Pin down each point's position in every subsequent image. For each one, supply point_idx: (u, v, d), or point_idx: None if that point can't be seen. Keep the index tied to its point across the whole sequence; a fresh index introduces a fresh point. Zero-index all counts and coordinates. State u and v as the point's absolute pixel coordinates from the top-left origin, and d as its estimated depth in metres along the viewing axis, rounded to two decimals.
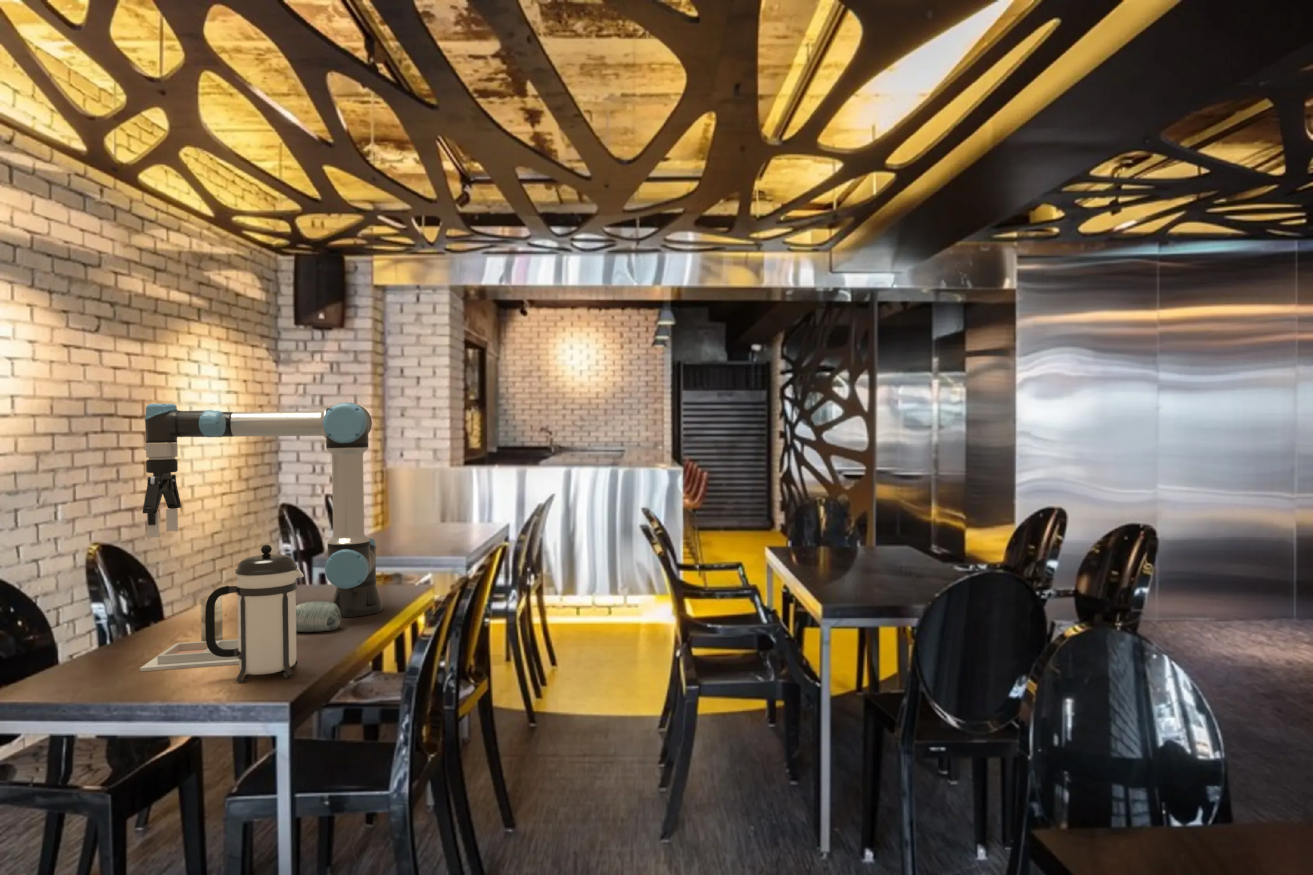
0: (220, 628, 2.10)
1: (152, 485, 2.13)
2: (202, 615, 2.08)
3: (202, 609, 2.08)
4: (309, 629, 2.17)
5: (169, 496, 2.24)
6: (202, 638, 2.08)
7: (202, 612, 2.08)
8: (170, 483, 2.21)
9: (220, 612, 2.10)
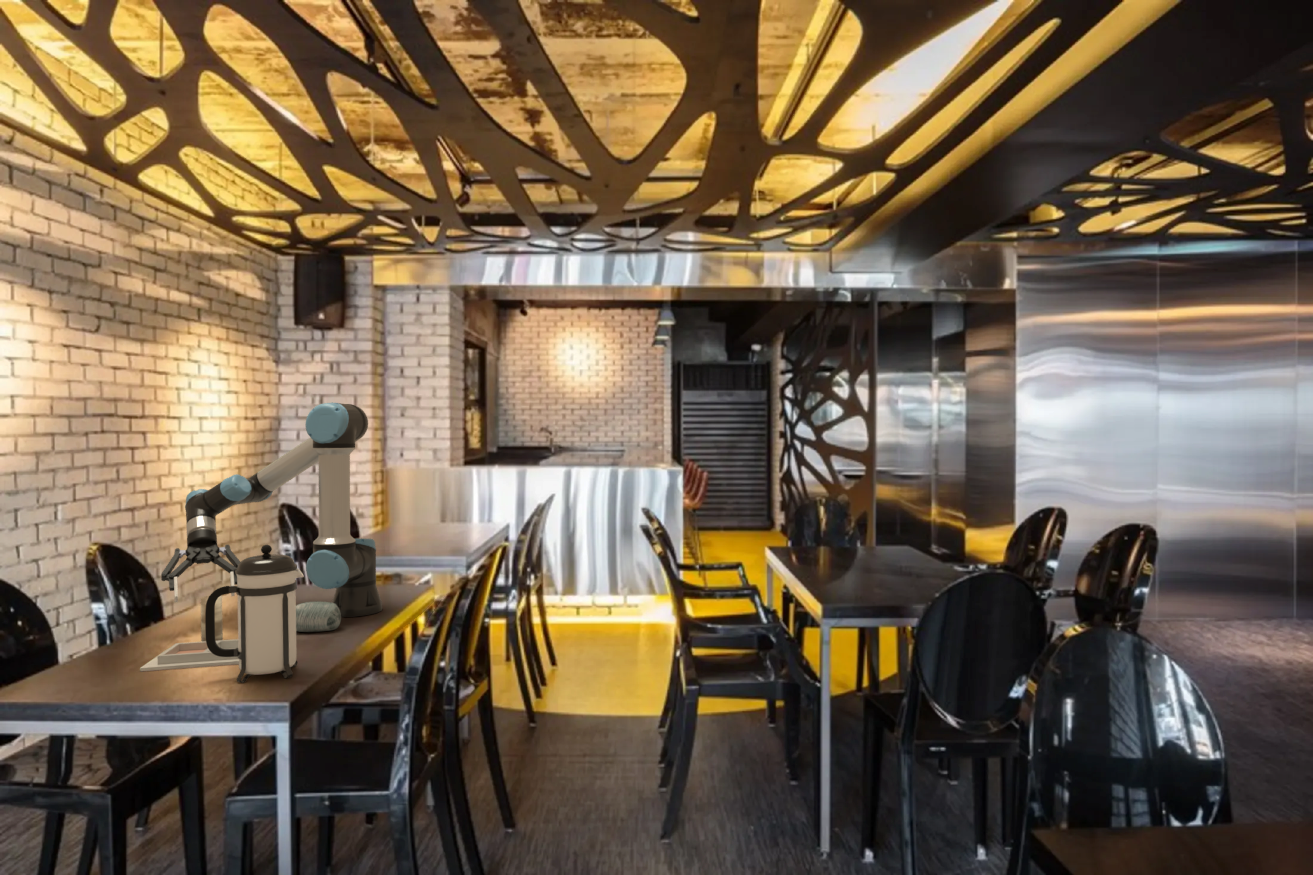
0: (220, 628, 2.10)
1: None
2: (202, 615, 2.08)
3: (202, 609, 2.08)
4: (309, 629, 2.17)
5: (221, 564, 2.23)
6: (202, 638, 2.08)
7: (202, 612, 2.08)
8: (207, 551, 2.23)
9: (220, 612, 2.10)
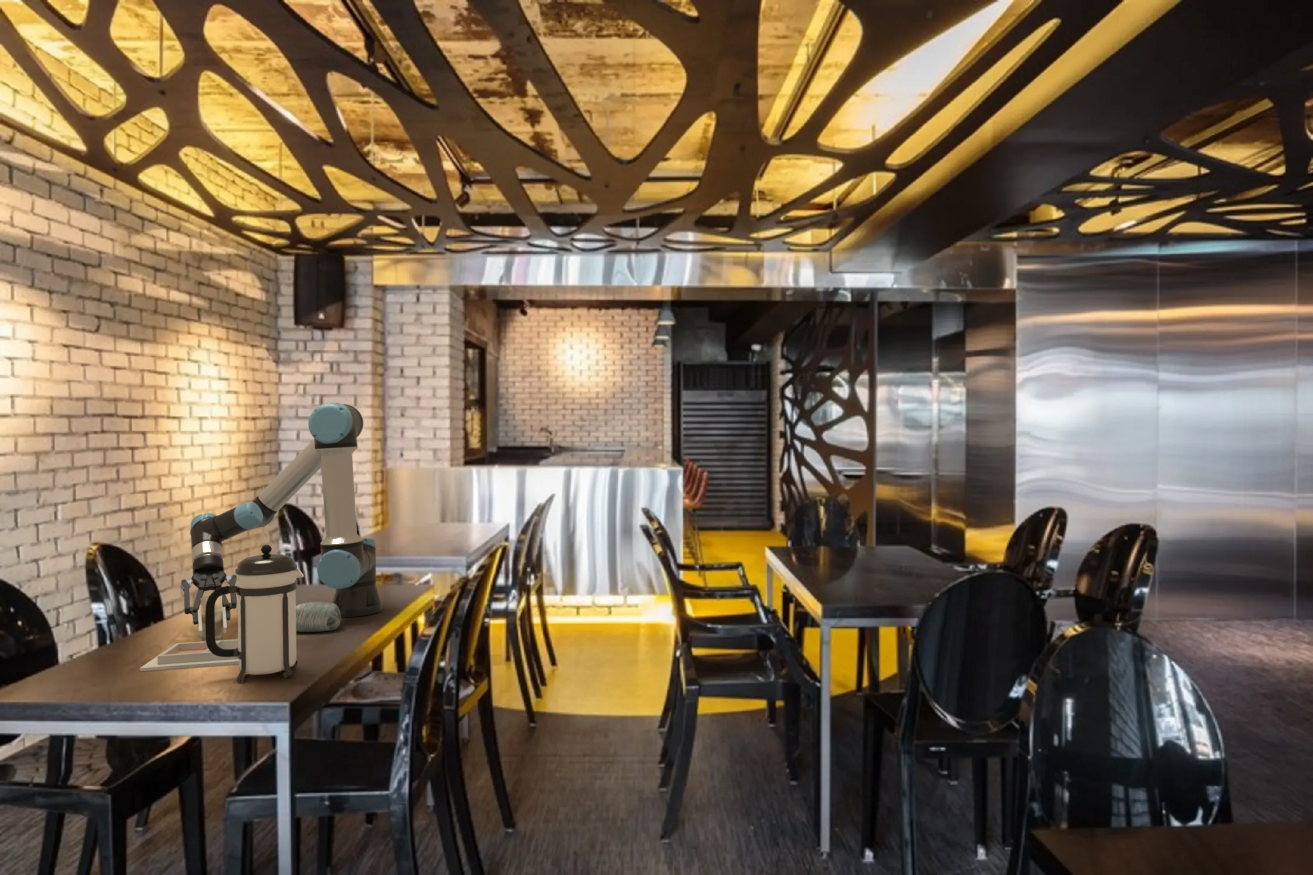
0: (220, 628, 2.10)
1: (184, 589, 2.12)
2: (202, 615, 2.08)
3: (202, 609, 2.08)
4: (309, 629, 2.17)
5: None
6: (202, 638, 2.08)
7: (202, 612, 2.08)
8: (212, 577, 2.16)
9: (220, 612, 2.10)
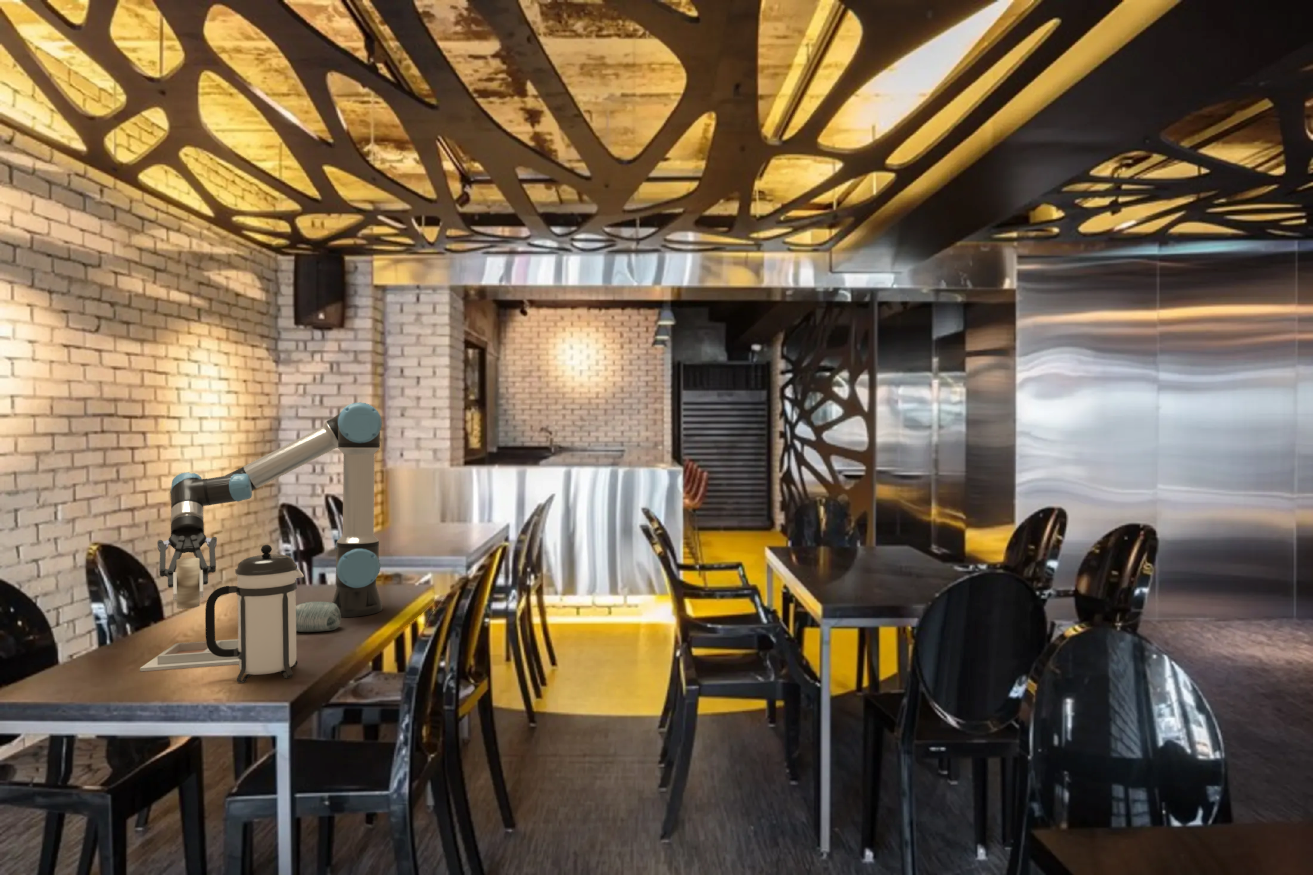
0: (197, 592, 1.97)
1: None
2: (177, 578, 1.96)
3: (178, 571, 1.96)
4: (309, 629, 2.17)
5: (197, 557, 2.02)
6: (177, 602, 1.96)
7: (178, 575, 1.96)
8: (191, 539, 2.04)
9: (197, 575, 1.97)
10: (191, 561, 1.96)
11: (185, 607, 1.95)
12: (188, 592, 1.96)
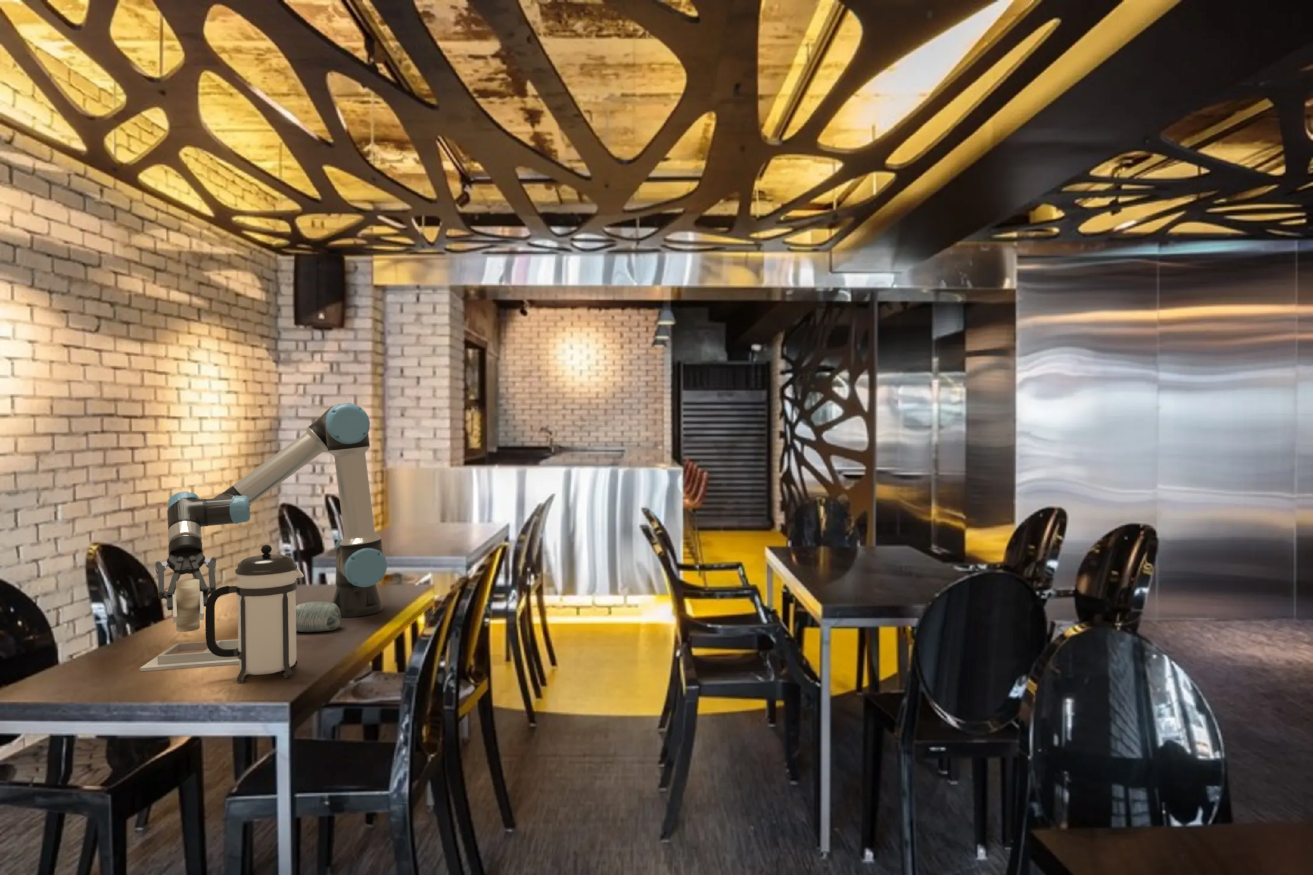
0: (197, 614, 1.93)
1: None
2: (177, 600, 1.91)
3: (177, 593, 1.91)
4: (309, 629, 2.17)
5: (196, 578, 1.98)
6: (177, 625, 1.91)
7: (177, 597, 1.91)
8: (190, 560, 1.99)
9: (197, 597, 1.93)
10: (191, 583, 1.92)
11: (185, 630, 1.91)
12: (188, 615, 1.91)
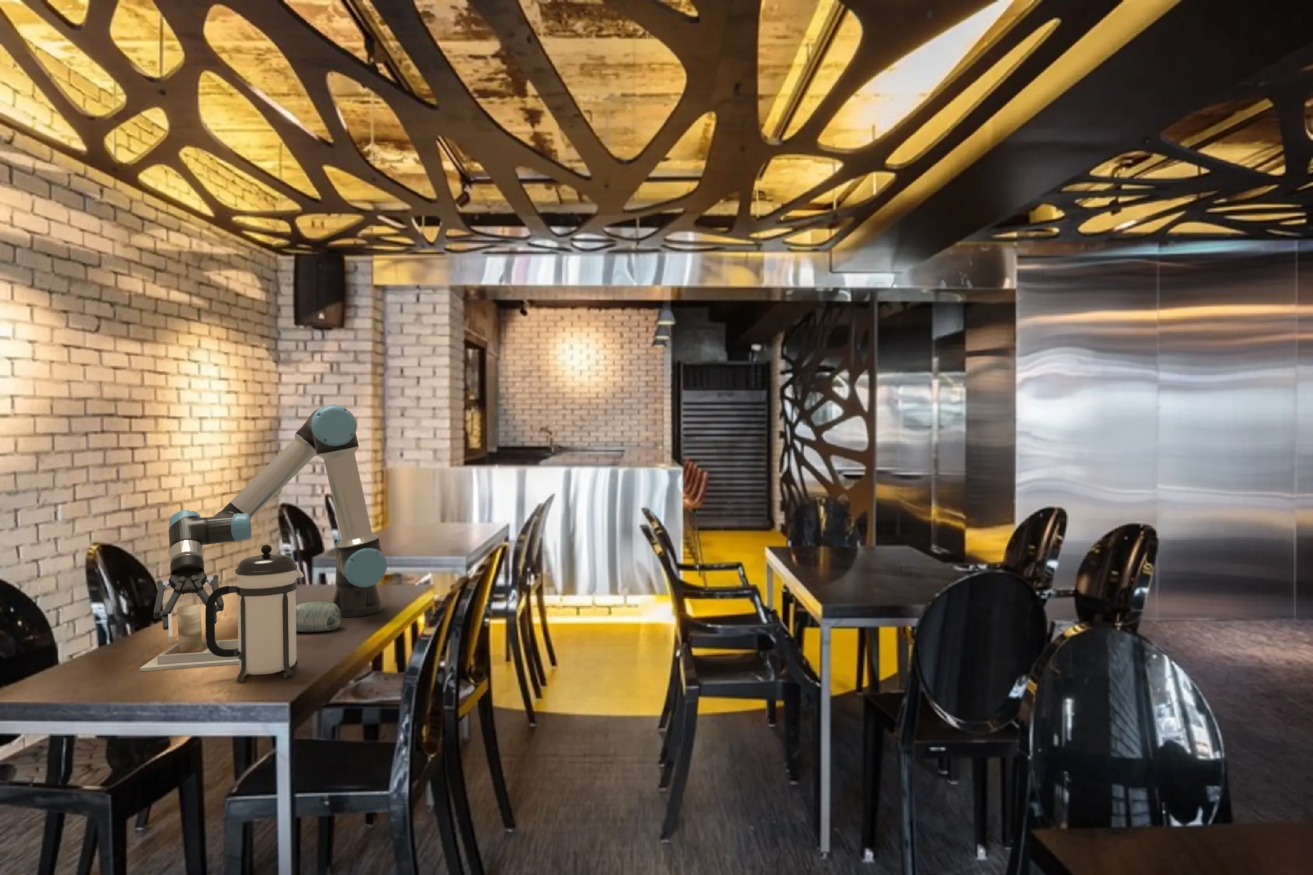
0: (199, 640, 1.93)
1: None
2: (179, 626, 1.91)
3: (179, 620, 1.91)
4: (309, 629, 2.17)
5: (201, 597, 1.98)
6: (180, 651, 1.91)
7: (179, 623, 1.91)
8: (192, 579, 1.99)
9: (199, 623, 1.93)
10: (192, 609, 1.92)
11: None
12: (190, 641, 1.91)
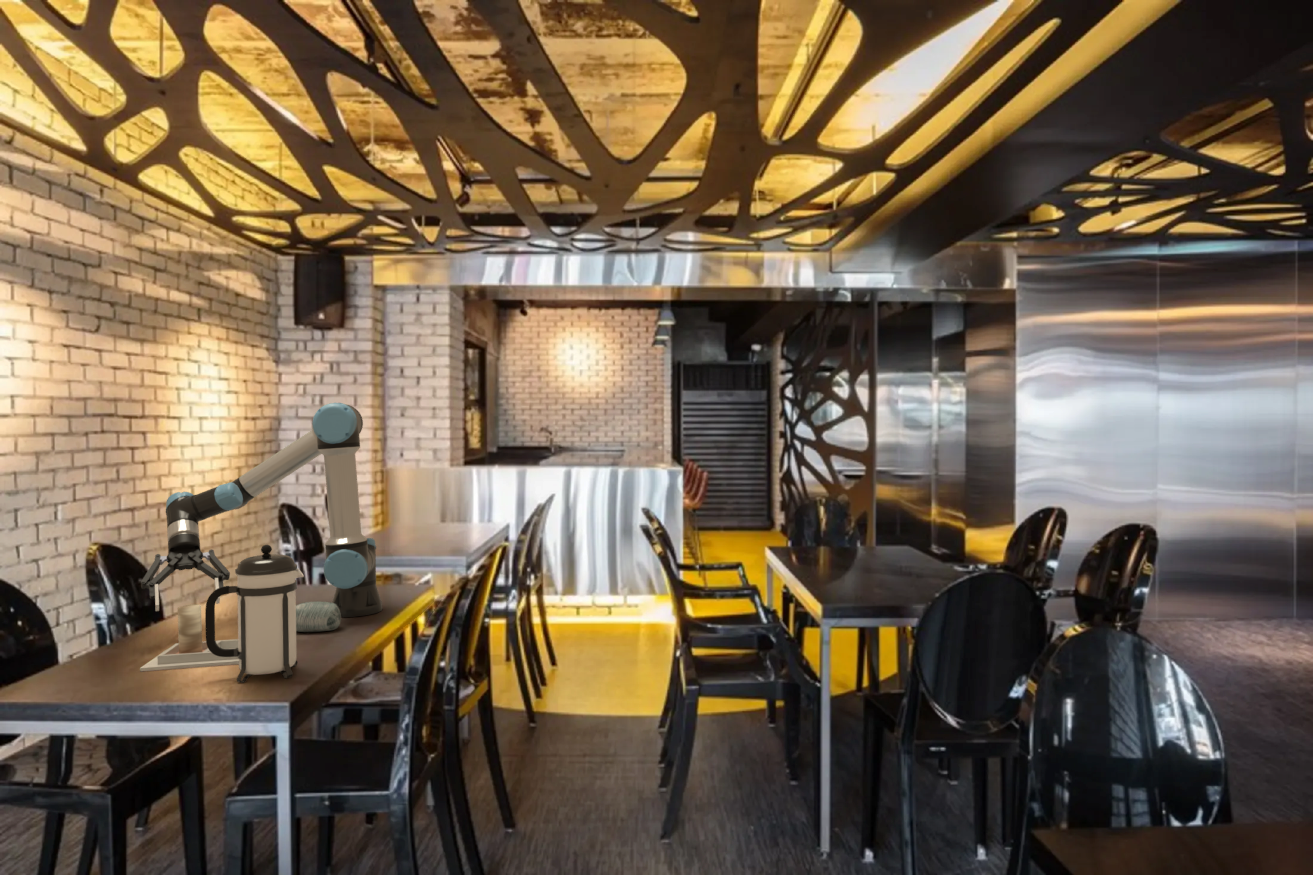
0: (199, 640, 1.93)
1: None
2: (179, 626, 1.91)
3: (179, 620, 1.91)
4: (309, 629, 2.17)
5: (204, 570, 2.12)
6: (180, 651, 1.91)
7: (179, 623, 1.91)
8: (190, 556, 2.11)
9: (199, 623, 1.93)
10: (193, 609, 1.92)
11: None
12: (190, 641, 1.91)
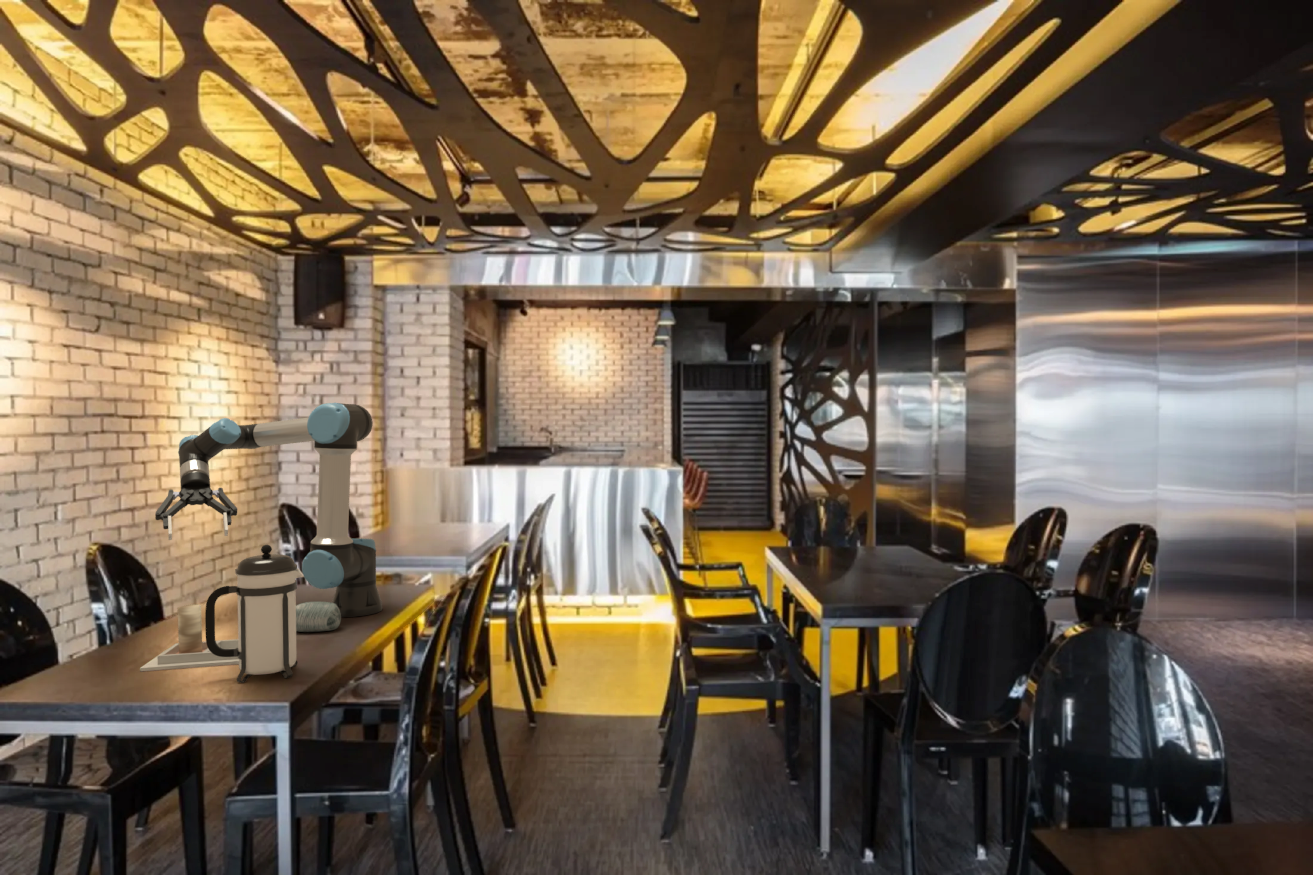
0: (199, 640, 1.93)
1: None
2: (179, 626, 1.91)
3: (179, 620, 1.91)
4: (309, 629, 2.17)
5: (214, 505, 2.27)
6: (180, 651, 1.92)
7: (179, 623, 1.91)
8: (200, 493, 2.27)
9: (199, 623, 1.93)
10: (192, 609, 1.92)
11: None
12: (190, 641, 1.91)
